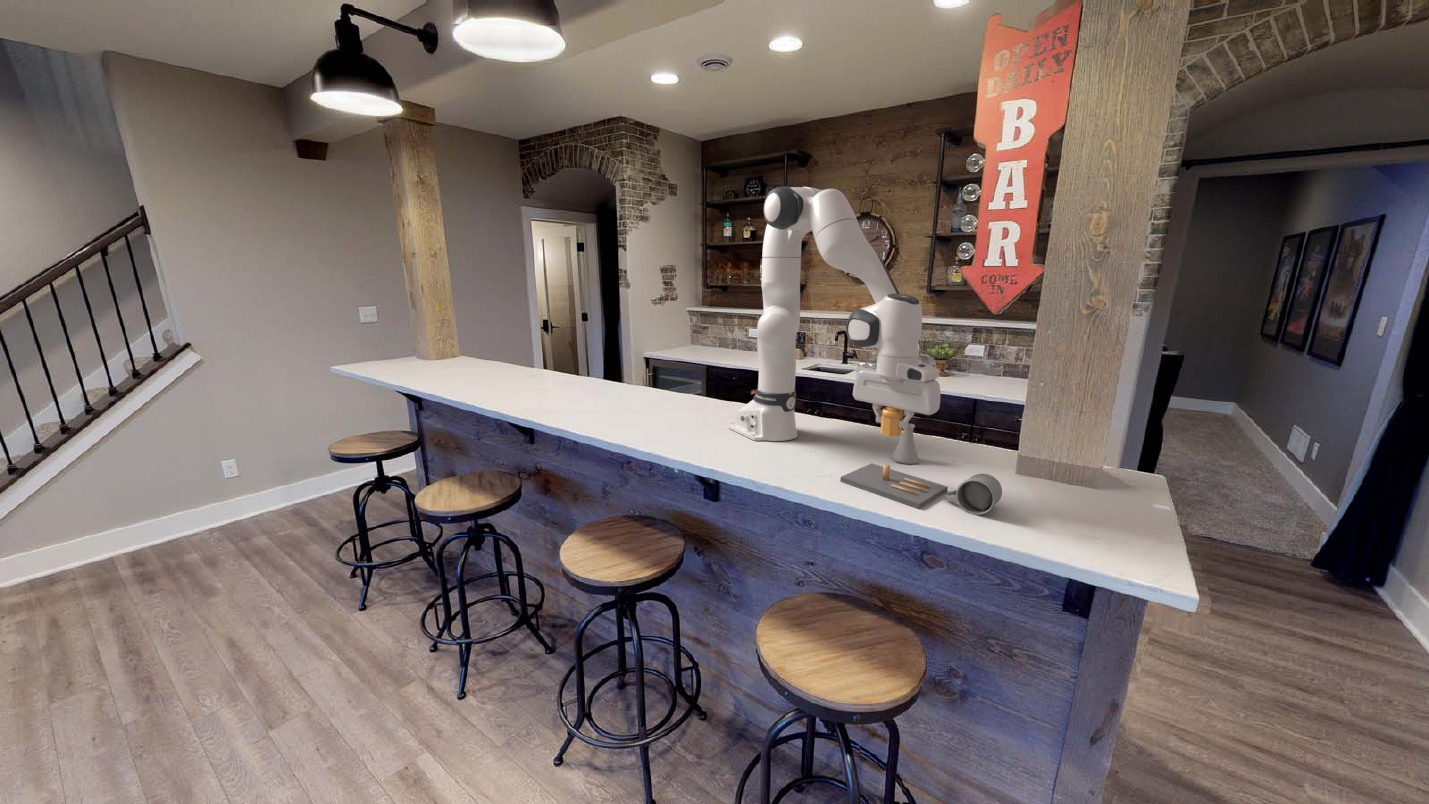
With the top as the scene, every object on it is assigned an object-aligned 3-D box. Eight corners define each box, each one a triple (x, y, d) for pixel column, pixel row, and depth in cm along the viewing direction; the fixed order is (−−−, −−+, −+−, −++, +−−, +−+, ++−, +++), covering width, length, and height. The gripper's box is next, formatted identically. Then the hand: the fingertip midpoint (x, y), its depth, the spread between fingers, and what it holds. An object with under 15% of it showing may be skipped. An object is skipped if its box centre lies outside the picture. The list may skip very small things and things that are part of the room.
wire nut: (876, 433, 125) (879, 406, 123) (886, 429, 128) (889, 403, 126) (894, 438, 122) (897, 410, 120) (904, 433, 125) (907, 406, 123)
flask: (915, 456, 147) (919, 421, 145) (922, 465, 140) (926, 429, 138) (888, 455, 148) (891, 420, 146) (894, 464, 141) (898, 428, 139)
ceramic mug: (1001, 507, 117) (1006, 474, 115) (991, 519, 111) (996, 485, 109) (951, 494, 123) (955, 463, 122) (939, 505, 117) (943, 473, 115)
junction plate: (840, 481, 129) (841, 463, 128) (871, 467, 138) (872, 450, 137) (918, 508, 115) (921, 488, 114) (947, 491, 124) (949, 472, 123)
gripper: (849, 362, 126) (845, 418, 130) (933, 375, 112) (926, 438, 115) (864, 359, 130) (860, 413, 134) (946, 371, 116) (939, 432, 119)
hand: (891, 425), depth 124 cm, fingers closed on wire nut, 4 cm apart
